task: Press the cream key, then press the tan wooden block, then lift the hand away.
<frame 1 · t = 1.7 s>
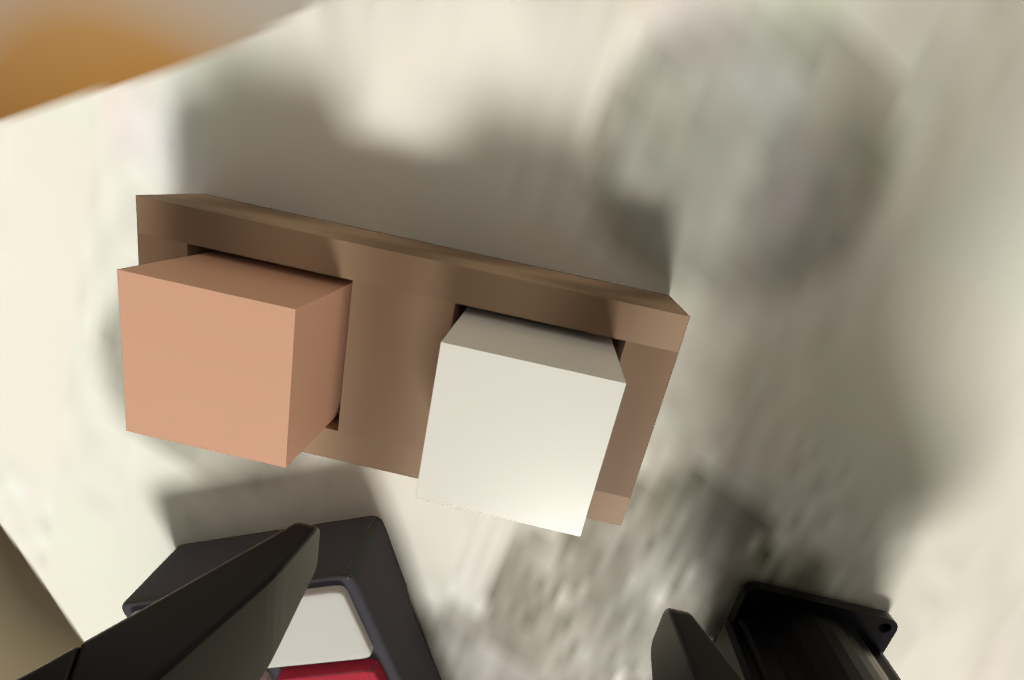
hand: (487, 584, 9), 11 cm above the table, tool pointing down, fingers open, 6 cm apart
tan wooden block: (248, 351, 16), point 4 cm above the table, slide at 0.0 cm
cream key: (519, 412, 16), point 4 cm above the table, slide at 0.0 cm
key panel: (417, 343, 19), on the table
calculator: (331, 642, 26), on the table
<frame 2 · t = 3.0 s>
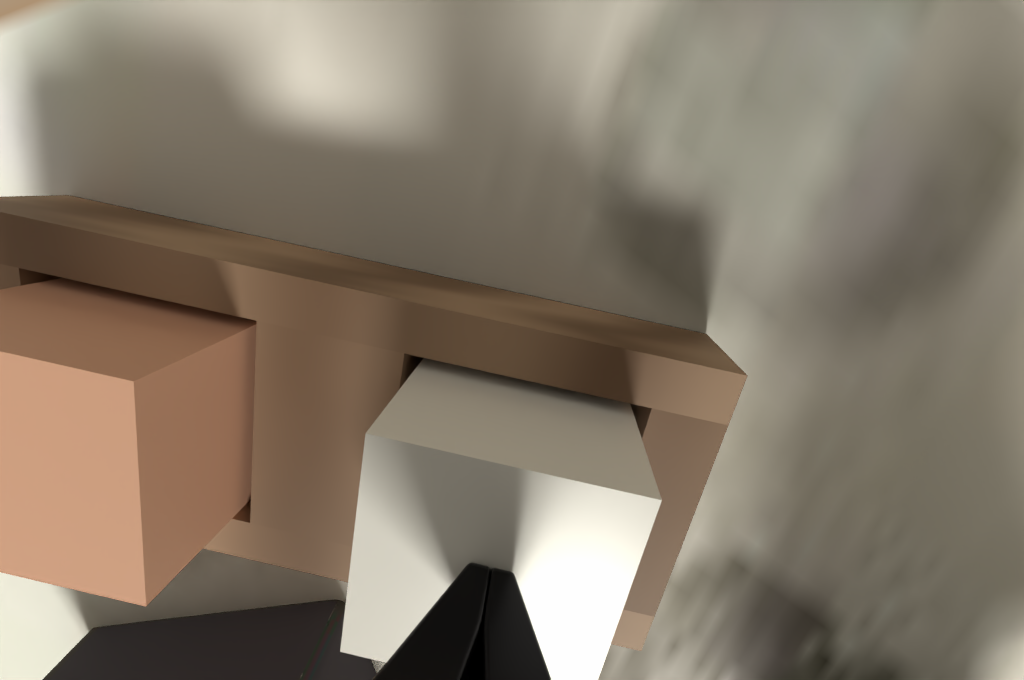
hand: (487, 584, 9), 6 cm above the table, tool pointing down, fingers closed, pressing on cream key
tan wooden block: (106, 423, 11), point 4 cm above the table, slide at 0.0 cm
cream key: (498, 512, 11), point 4 cm above the table, slide at 0.0 cm, touching gripper
key panel: (367, 394, 15), on the table
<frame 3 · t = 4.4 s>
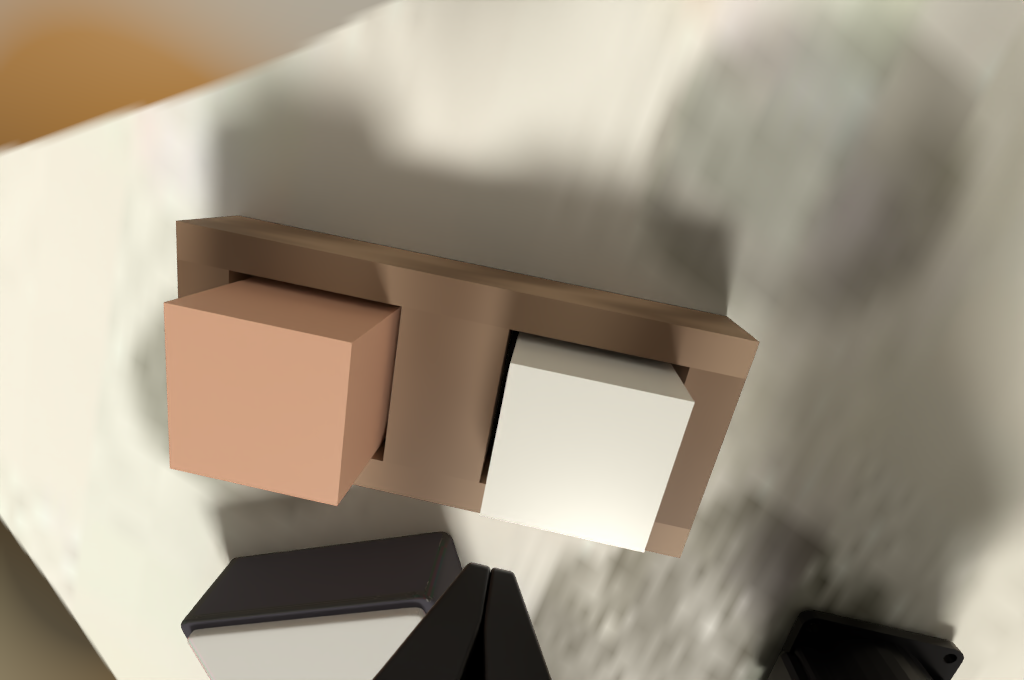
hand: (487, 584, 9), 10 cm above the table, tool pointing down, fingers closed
tan wooden block: (293, 381, 15), point 4 cm above the table, slide at 0.0 cm
cream key: (578, 429, 16), point 3 cm above the table, slide at 1.0 cm
key panel: (460, 367, 19), on the table
calculator: (387, 661, 25), on the table
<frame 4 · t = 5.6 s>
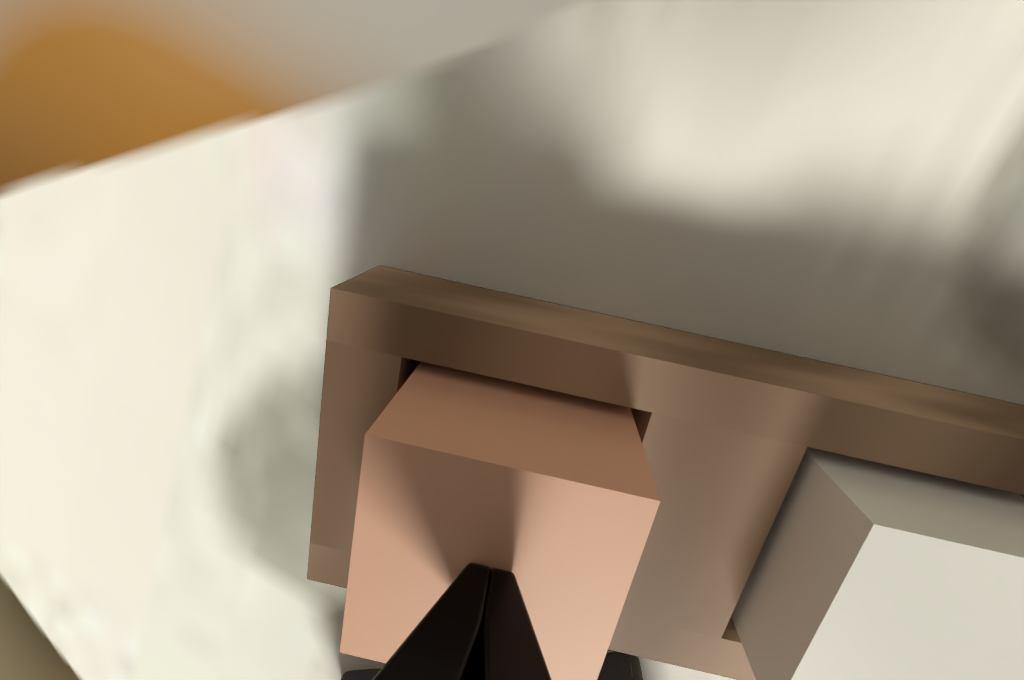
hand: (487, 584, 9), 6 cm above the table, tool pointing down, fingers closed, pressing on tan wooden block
tan wooden block: (497, 513, 11), point 4 cm above the table, slide at 0.2 cm, touching gripper
cream key: (881, 578, 11), point 3 cm above the table, slide at 1.0 cm
key panel: (663, 463, 14), on the table
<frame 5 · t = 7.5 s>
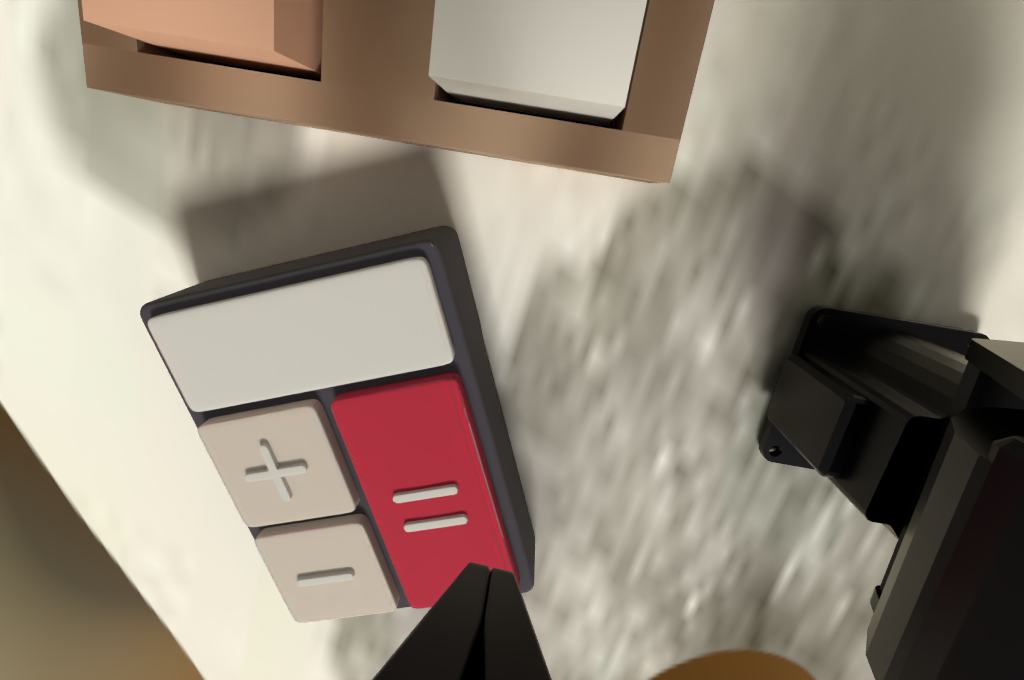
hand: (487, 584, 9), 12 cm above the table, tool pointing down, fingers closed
cream key: (544, 4, 13), point 3 cm above the table, slide at 1.0 cm
key panel: (412, 15, 16), on the table
calculator: (382, 418, 22), on the table
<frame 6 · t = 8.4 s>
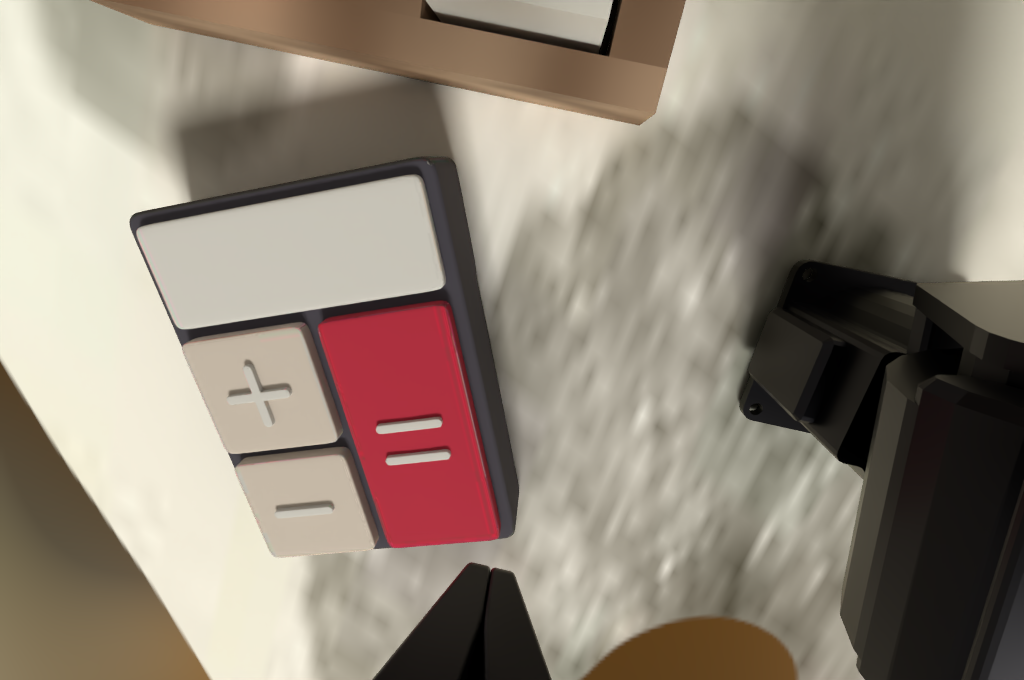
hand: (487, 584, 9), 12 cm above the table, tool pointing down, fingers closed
calculator: (371, 358, 22), on the table
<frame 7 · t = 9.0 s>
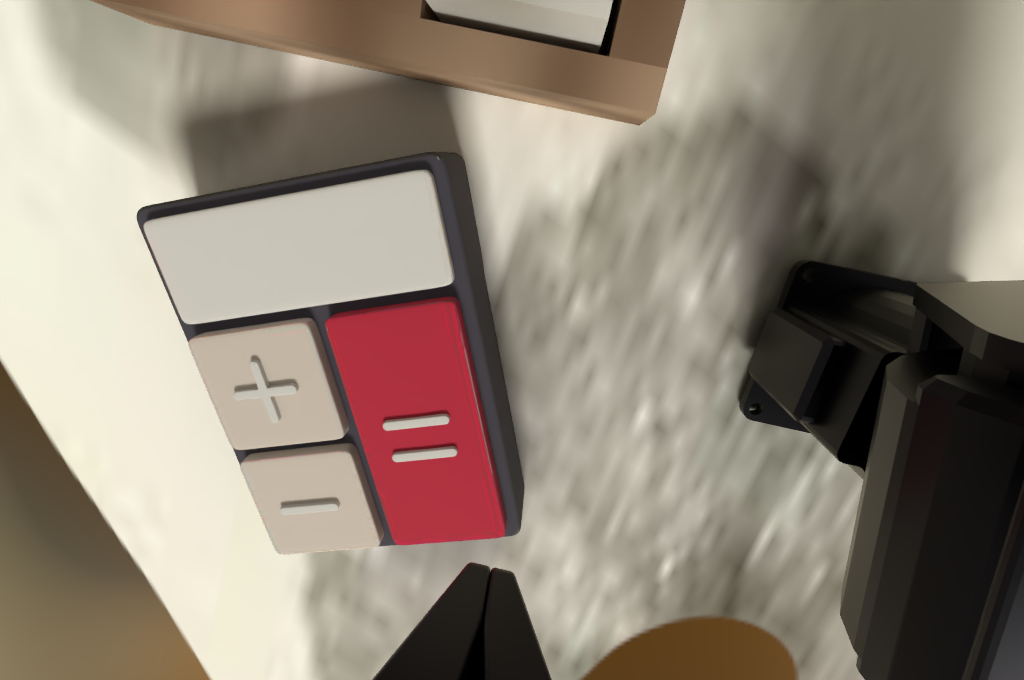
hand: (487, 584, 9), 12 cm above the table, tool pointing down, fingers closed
calculator: (377, 355, 21), on the table
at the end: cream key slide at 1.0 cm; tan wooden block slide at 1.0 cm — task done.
